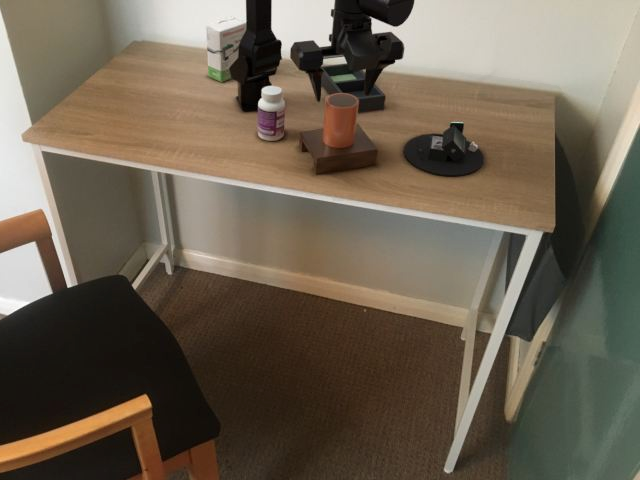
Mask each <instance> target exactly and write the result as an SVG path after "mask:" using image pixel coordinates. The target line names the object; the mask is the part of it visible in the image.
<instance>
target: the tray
mask: <svg viewBox="0 0 640 480" xmlns="http://www.w3.org/2000/svg"><path fill="white" fill-rule="evenodd" d="M321 68H322V69H323V70H324V72H323V74H322V76H321V87H323V89H324V90H325V92H326V93H327V94H328V96H329V95H331V94H335V93H347V94H351V95H353V96H355V97H357V98H358V100H359V106H358V113H365V112H372V111H379V110H384V109H385V103H386V94H385V93H384V92H383V91H382V90H381V88H380V87H379V86H378V85H377V84H376V83H375V84H374V86H373V88H372V90H371V92H370V94H369V95H368V96H366V95H365V94H364V81H365V71H364V70H359V71H356V72H354V71H351V70H350V69H349V68H348V65H347V62H346V63H339V64H329V65H322V66H321Z"/></svg>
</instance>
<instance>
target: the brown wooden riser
mask: <svg viewBox="0 0 640 480" xmlns="http://www.w3.org/2000/svg"><path fill="white" fill-rule="evenodd" d="M322 137H323V127H322V128H315V129H308V130H302V131H299V141H298V142H299V143H298V148H299V149H300V151H301V152H307V151H308V153H309V154H310V156H311V157H312V159H313V164H312V171H313V173H314V175H321V174H326V173H328V174H329V173H334V172H340V171H347V170H353V169H360V168H367V167H373V166H376V165H377V160H378V159H377V158H378V153H379V148H378V147H377V146H376V144H375V143H374V142H373V141H372V139H371V138H370V137H369V136H368V134H367V133H366V132H365V131H364V129H363V128H362V127H361V125H360V124H359V123H356V131H355V139H354V143H353V144H352V145H351V146H349V147H346V148H334V147H330V146H328V145H326V144H325V143H324V142H323V140H322Z"/></svg>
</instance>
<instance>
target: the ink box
mask: <svg viewBox="0 0 640 480" xmlns="http://www.w3.org/2000/svg"><path fill="white" fill-rule="evenodd" d="M245 31H246V21H244V20H243V19H240V18H238V17H236V16H229V17H226V18H223V19H220V20H216V21H214V22H211V23H207V25H206V26H205V33H206V53H207V72H208V73H207V75H208V77H209V78H211V79H214V80H216V81H218V82H220V83H223V82H226V81H229V80H231V79H232V78H231V74H230V70H229V67H230V66H231V65H232V64H233V63H234V62H235V61H236V59H237V58H238V51H239V43H240V41H241V39H242V37H243V35H244V33H245Z"/></svg>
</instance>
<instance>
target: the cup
mask: <svg viewBox="0 0 640 480" xmlns="http://www.w3.org/2000/svg"><path fill="white" fill-rule="evenodd" d="M358 106H359V100H358V98H357V97H355V96H353V95H351V94H347V93H335V94H331V95H329V94H328V96H326V98H325V104H324V115H323V124H322V125H323V127H322V128H323V137H322V140H323V142H324V143H325V144H326V145H328V146H330V147H334V148H346V147H349V146H351V145H352V144H353V143H354V139H355V131H356V124H357V121H358V114H359V112H358Z"/></svg>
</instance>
